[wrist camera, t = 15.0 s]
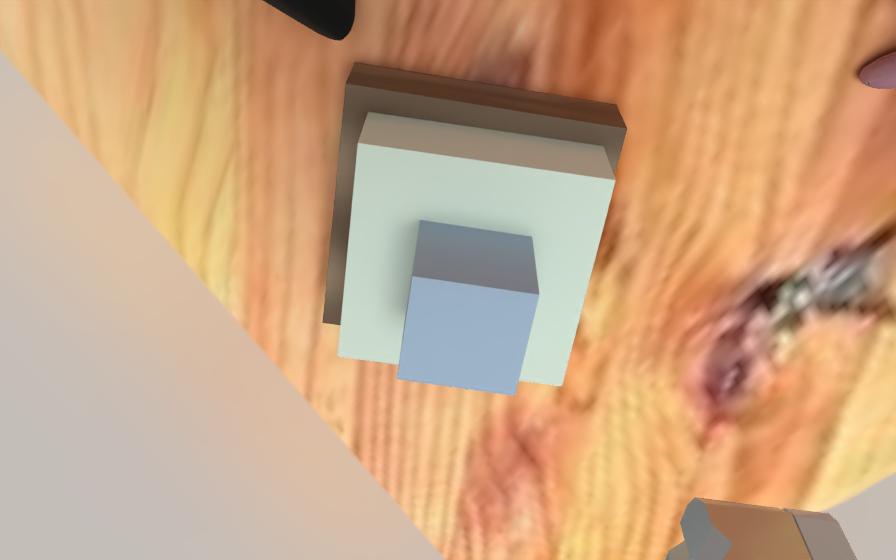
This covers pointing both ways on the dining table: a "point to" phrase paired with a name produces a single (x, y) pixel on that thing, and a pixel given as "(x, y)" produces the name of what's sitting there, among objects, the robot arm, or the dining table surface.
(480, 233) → the blue cube
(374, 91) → the walnut slab
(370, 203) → the sage slab
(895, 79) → the video game controller
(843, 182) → the dining table surface
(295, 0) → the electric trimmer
